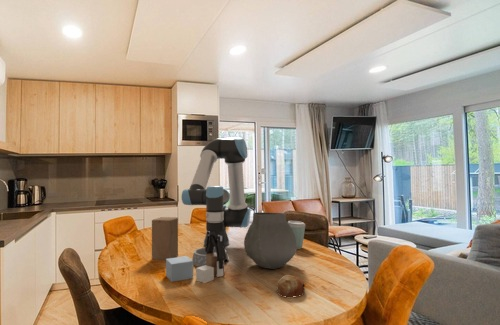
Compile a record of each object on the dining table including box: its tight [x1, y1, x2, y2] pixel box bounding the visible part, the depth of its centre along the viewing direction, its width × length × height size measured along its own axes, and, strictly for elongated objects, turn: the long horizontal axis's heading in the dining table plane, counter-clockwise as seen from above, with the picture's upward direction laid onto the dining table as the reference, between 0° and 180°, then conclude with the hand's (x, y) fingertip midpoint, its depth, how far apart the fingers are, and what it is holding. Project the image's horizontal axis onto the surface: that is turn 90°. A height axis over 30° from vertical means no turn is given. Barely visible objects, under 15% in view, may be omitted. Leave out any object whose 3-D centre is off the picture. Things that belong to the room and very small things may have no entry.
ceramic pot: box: [243, 211, 298, 270], centre depth 145 cm, size 24×24×25 cm
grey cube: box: [195, 265, 215, 284], centre depth 127 cm, size 5×5×5 cm
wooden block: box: [151, 216, 179, 261], centre depth 161 cm, size 10×10×20 cm
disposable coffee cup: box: [287, 220, 306, 250], centre depth 178 cm, size 11×11×15 cm
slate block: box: [165, 255, 194, 283], centre depth 131 cm, size 9×9×7 cm
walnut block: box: [206, 253, 225, 277], centre depth 135 cm, size 6×6×8 cm
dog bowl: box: [191, 247, 229, 267], centre depth 153 cm, size 17×18×5 cm
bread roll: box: [276, 274, 306, 298], centre depth 113 cm, size 10×10×8 cm
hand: (215, 272), depth 135 cm, fingers open, 10 cm apart
